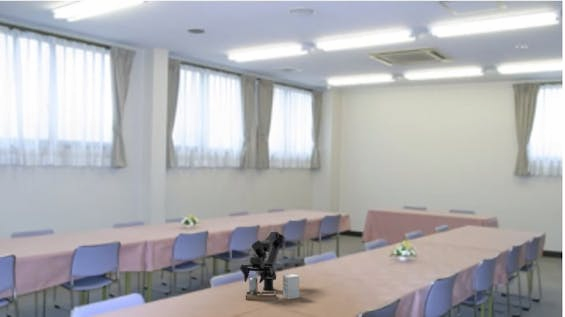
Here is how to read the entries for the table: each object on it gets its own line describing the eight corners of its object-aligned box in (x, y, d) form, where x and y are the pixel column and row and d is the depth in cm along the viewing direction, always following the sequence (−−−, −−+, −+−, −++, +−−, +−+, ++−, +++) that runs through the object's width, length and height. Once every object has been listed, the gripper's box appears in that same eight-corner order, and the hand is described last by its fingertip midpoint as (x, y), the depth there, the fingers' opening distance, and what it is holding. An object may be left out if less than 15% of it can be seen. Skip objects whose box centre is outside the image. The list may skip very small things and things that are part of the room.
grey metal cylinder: (248, 294, 296) (248, 277, 296) (256, 294, 297) (256, 277, 297) (249, 296, 291) (250, 279, 291) (258, 296, 292) (258, 278, 293)
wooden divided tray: (245, 296, 298) (245, 291, 298) (275, 295, 299) (275, 291, 299) (245, 299, 289) (245, 295, 289) (276, 299, 290) (276, 294, 290)
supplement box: (293, 295, 300) (293, 273, 301) (299, 298, 294) (299, 275, 294) (282, 296, 297) (282, 274, 298) (288, 299, 290) (288, 277, 291)
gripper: (241, 250, 302) (233, 272, 291) (271, 252, 295) (263, 275, 285) (246, 262, 309) (239, 284, 298) (275, 264, 302) (268, 286, 292)
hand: (252, 282), depth 293 cm, fingers open, 9 cm apart
